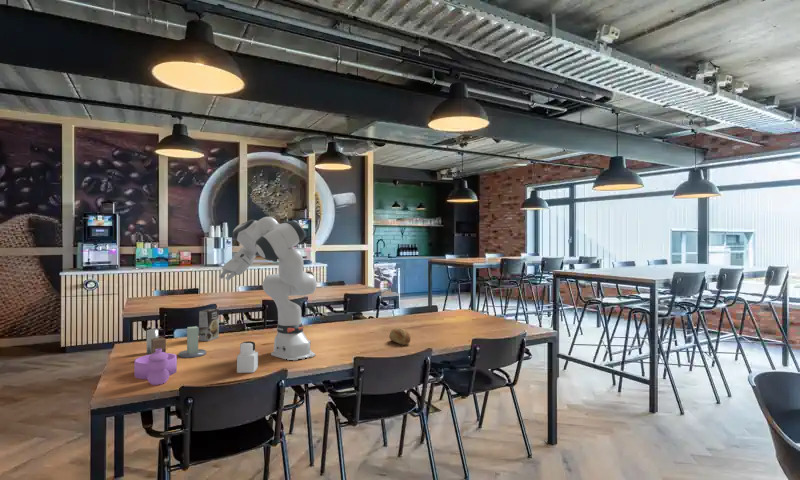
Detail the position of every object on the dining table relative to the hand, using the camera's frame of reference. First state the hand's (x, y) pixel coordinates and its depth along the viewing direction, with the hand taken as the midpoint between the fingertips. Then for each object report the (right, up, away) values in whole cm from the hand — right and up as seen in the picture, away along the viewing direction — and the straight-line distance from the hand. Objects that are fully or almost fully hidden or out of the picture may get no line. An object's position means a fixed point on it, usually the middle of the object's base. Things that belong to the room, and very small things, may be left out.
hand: (223, 278), depth 222 cm
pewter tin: (-31, -35, -10) cm, 48 cm away
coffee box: (-16, -35, +19) cm, 43 cm away
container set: (-9, -36, -44) cm, 58 cm away
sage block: (-10, -34, -12) cm, 38 cm away
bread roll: (+89, -37, +16) cm, 98 cm away
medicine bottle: (+24, -36, -35) cm, 56 cm away
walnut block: (-23, -35, -19) cm, 46 cm away
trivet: (-10, -35, -12) cm, 39 cm away
